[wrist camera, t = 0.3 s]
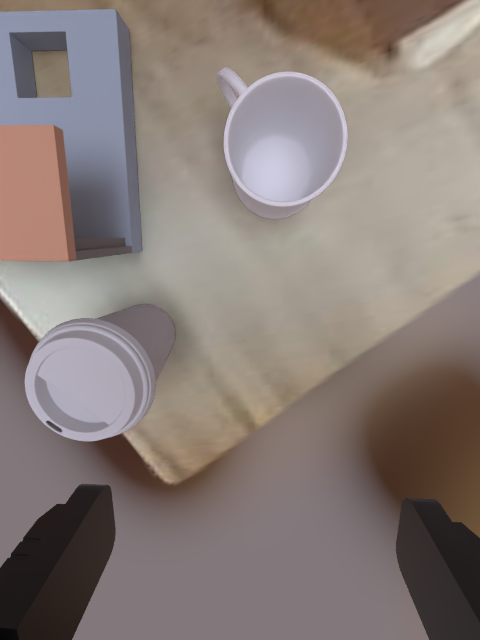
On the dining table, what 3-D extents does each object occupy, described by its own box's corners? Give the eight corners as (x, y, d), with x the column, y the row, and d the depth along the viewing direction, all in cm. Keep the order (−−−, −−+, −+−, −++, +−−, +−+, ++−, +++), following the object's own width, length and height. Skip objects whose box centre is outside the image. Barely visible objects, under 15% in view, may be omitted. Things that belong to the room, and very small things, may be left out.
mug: (197, 130, 33) (165, 73, 22) (272, 74, 32) (281, -20, 20) (261, 235, 35) (263, 235, 24) (335, 187, 34) (375, 162, 22)
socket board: (-17, 33, 32) (-232, -125, 18) (128, 30, 31) (24, -137, 17) (15, 249, 37) (-135, 258, 23) (142, 251, 36) (68, 261, 22)
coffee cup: (89, 316, 38) (-15, 365, 24) (159, 274, 37) (95, 300, 22) (135, 385, 40) (65, 471, 26) (204, 348, 39) (172, 417, 24)
